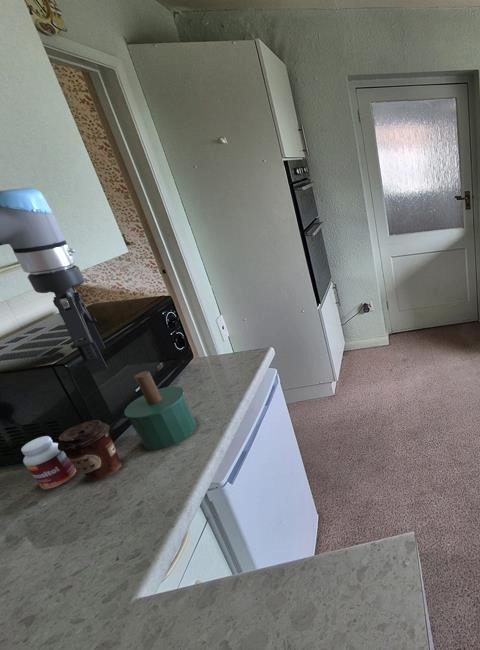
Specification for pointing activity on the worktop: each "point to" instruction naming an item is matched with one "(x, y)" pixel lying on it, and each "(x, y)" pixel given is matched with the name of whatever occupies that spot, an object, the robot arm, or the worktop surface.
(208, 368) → the worktop surface
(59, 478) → the pill bottle
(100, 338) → the robot arm
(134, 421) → the tin
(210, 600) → the worktop surface
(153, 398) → the tin lid
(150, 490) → the worktop surface
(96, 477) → the brown jar
